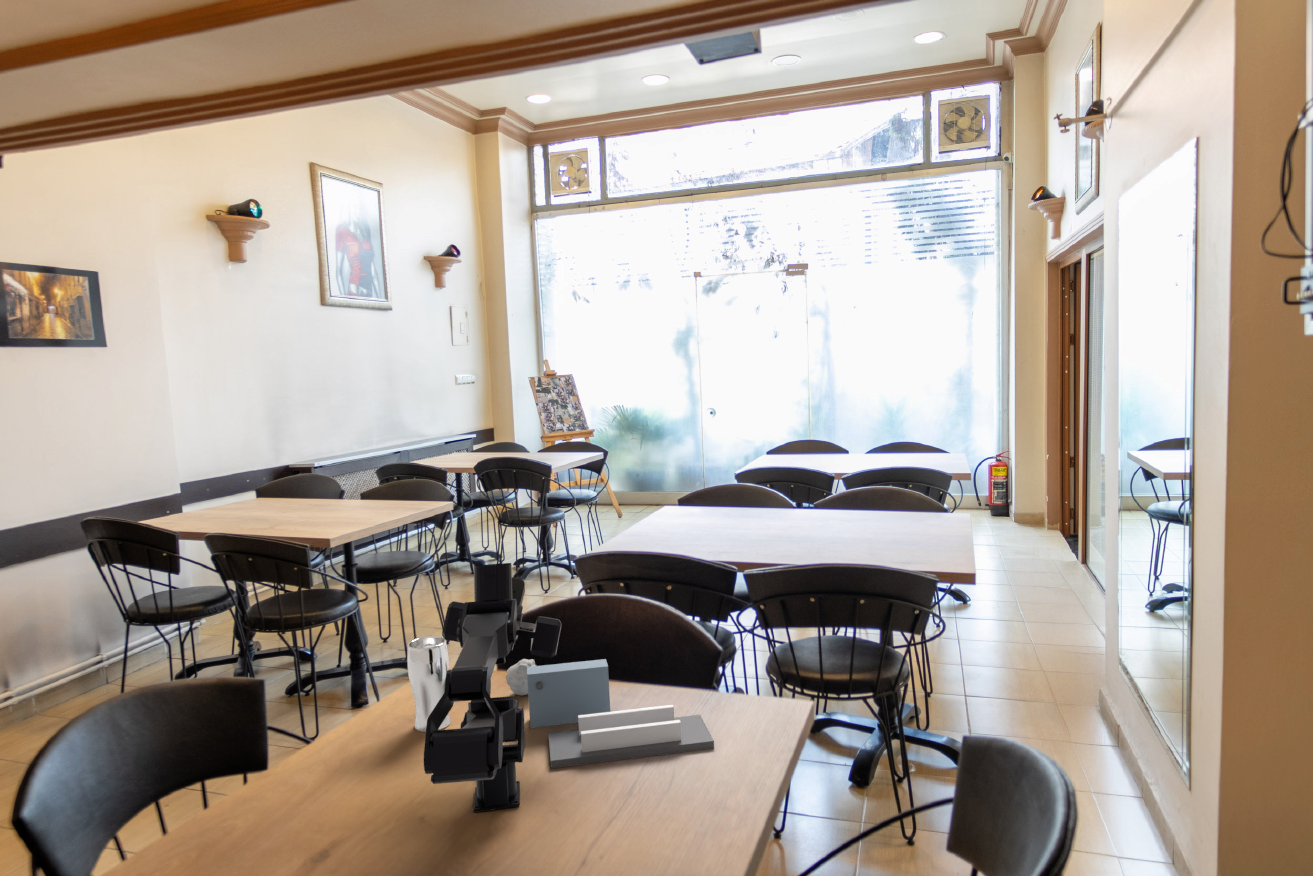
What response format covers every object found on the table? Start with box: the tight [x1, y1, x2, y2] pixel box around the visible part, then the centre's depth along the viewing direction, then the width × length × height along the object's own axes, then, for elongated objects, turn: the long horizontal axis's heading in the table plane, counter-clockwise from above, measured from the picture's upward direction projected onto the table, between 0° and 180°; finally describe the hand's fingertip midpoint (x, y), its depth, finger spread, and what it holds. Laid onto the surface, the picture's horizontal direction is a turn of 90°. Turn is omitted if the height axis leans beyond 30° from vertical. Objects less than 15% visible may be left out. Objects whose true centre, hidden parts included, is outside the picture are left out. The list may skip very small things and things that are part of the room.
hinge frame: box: [548, 704, 715, 769], centre depth 131 cm, size 10×26×4 cm, turn 100°
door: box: [527, 658, 611, 729], centre depth 141 cm, size 4×14×10 cm, turn 100°
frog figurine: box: [505, 658, 538, 696], centre depth 153 cm, size 6×7×7 cm
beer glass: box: [406, 635, 451, 733], centre depth 141 cm, size 7×7×15 cm
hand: (508, 627), depth 140 cm, fingers open, 9 cm apart
